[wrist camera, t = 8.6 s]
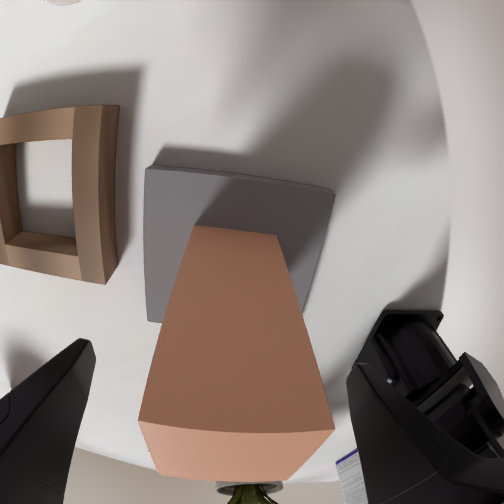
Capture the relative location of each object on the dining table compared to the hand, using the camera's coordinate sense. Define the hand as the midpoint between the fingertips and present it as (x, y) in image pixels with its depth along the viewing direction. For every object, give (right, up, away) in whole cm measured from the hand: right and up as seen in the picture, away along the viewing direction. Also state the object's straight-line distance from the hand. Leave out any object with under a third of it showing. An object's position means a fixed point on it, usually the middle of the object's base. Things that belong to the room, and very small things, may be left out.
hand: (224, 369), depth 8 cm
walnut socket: (-11, +7, +4) cm, 14 cm away
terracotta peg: (0, +3, +6) cm, 7 cm away
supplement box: (+17, -27, +24) cm, 40 cm away
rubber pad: (0, +3, +7) cm, 8 cm away
